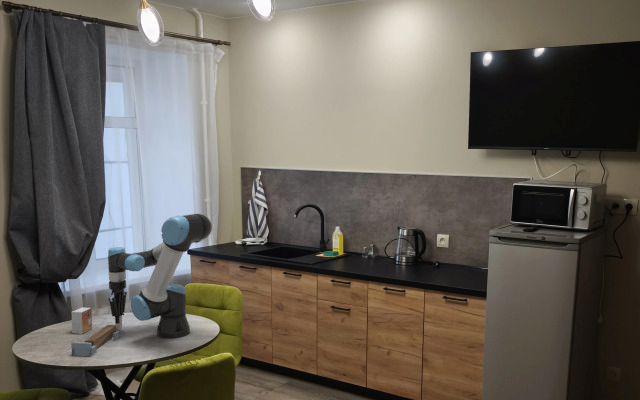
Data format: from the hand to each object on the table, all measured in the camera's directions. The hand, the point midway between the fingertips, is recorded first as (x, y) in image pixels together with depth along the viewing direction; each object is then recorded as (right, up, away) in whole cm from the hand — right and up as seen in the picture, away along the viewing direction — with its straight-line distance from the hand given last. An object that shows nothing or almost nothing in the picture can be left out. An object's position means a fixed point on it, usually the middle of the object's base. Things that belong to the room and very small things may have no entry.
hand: (118, 329), depth 265 cm
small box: (-18, -2, +2) cm, 18 cm away
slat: (-3, -3, -15) cm, 15 cm away
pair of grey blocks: (-1, -2, -9) cm, 9 cm away
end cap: (-4, -4, -29) cm, 29 cm away
